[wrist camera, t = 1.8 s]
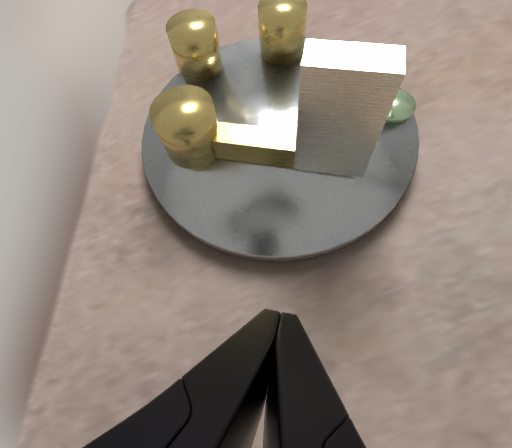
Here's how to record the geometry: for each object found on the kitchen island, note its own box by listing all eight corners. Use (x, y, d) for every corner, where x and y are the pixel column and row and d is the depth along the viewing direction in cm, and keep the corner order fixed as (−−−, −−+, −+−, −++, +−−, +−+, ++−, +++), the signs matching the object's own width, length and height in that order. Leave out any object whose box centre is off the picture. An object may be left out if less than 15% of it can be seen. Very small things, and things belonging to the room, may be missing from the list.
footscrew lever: (159, 165, 26) (104, 65, 18) (176, 121, 27) (132, 12, 19) (361, 191, 24) (405, 92, 15) (365, 142, 25) (406, 29, 17)
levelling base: (413, 286, 22) (449, 261, 17) (107, 235, 25) (67, 202, 20) (413, 56, 31) (437, -2, 26) (188, 39, 34) (173, -15, 29)
